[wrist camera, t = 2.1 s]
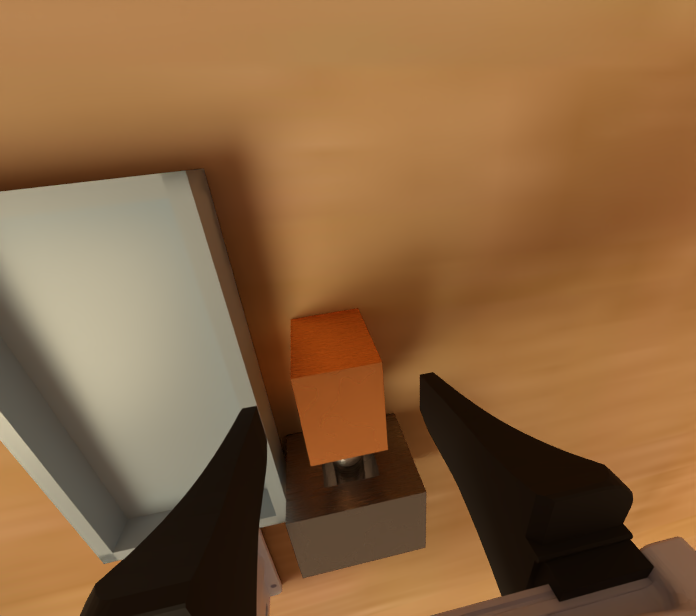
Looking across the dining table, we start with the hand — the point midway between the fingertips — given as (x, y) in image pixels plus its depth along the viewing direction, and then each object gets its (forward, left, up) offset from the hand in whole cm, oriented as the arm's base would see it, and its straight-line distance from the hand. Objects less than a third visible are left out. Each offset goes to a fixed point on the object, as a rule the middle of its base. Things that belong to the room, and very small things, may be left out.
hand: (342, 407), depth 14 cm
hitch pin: (-5, 0, -5) cm, 7 cm away
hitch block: (-8, 0, -4) cm, 9 cm away
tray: (0, +10, -4) cm, 11 cm away
